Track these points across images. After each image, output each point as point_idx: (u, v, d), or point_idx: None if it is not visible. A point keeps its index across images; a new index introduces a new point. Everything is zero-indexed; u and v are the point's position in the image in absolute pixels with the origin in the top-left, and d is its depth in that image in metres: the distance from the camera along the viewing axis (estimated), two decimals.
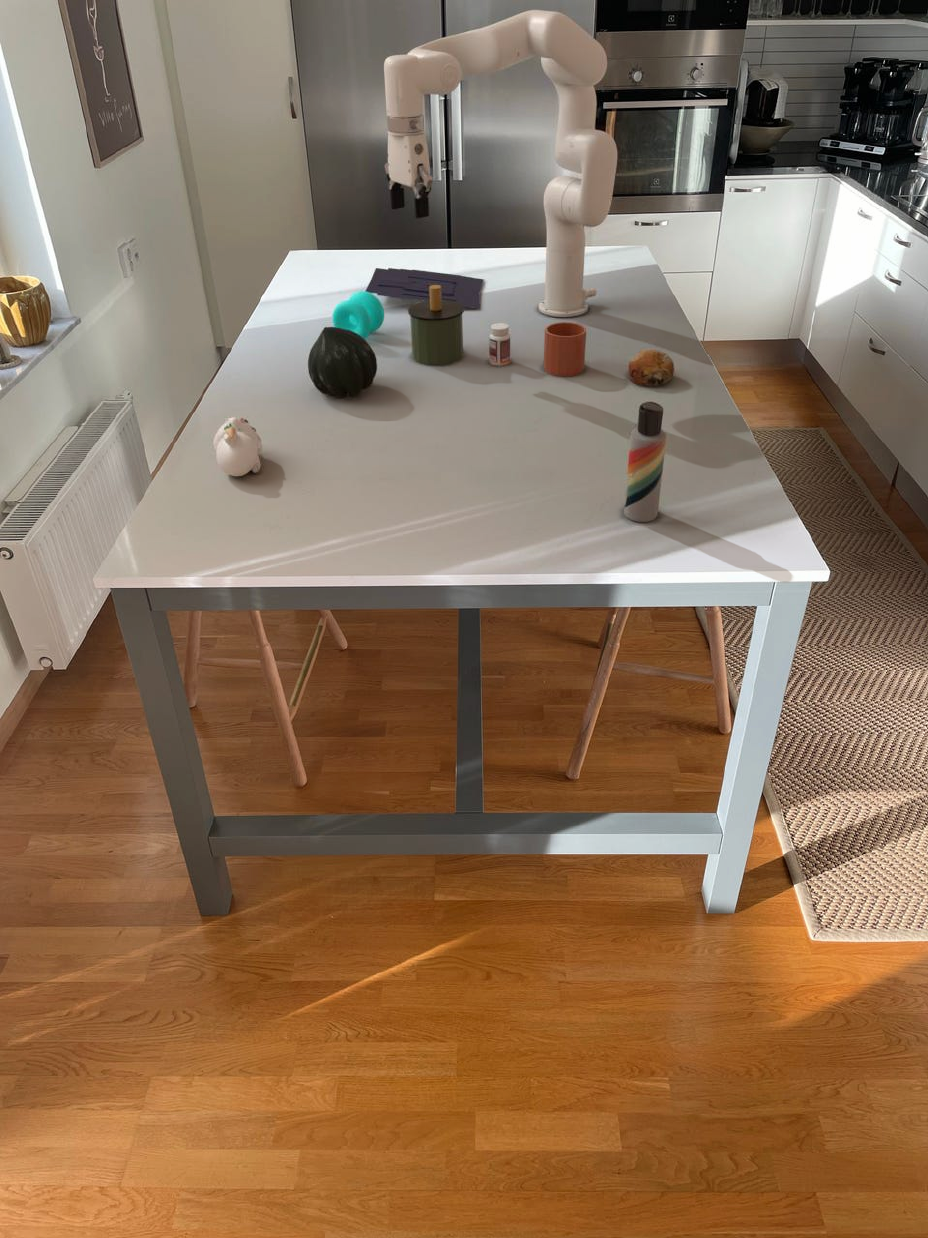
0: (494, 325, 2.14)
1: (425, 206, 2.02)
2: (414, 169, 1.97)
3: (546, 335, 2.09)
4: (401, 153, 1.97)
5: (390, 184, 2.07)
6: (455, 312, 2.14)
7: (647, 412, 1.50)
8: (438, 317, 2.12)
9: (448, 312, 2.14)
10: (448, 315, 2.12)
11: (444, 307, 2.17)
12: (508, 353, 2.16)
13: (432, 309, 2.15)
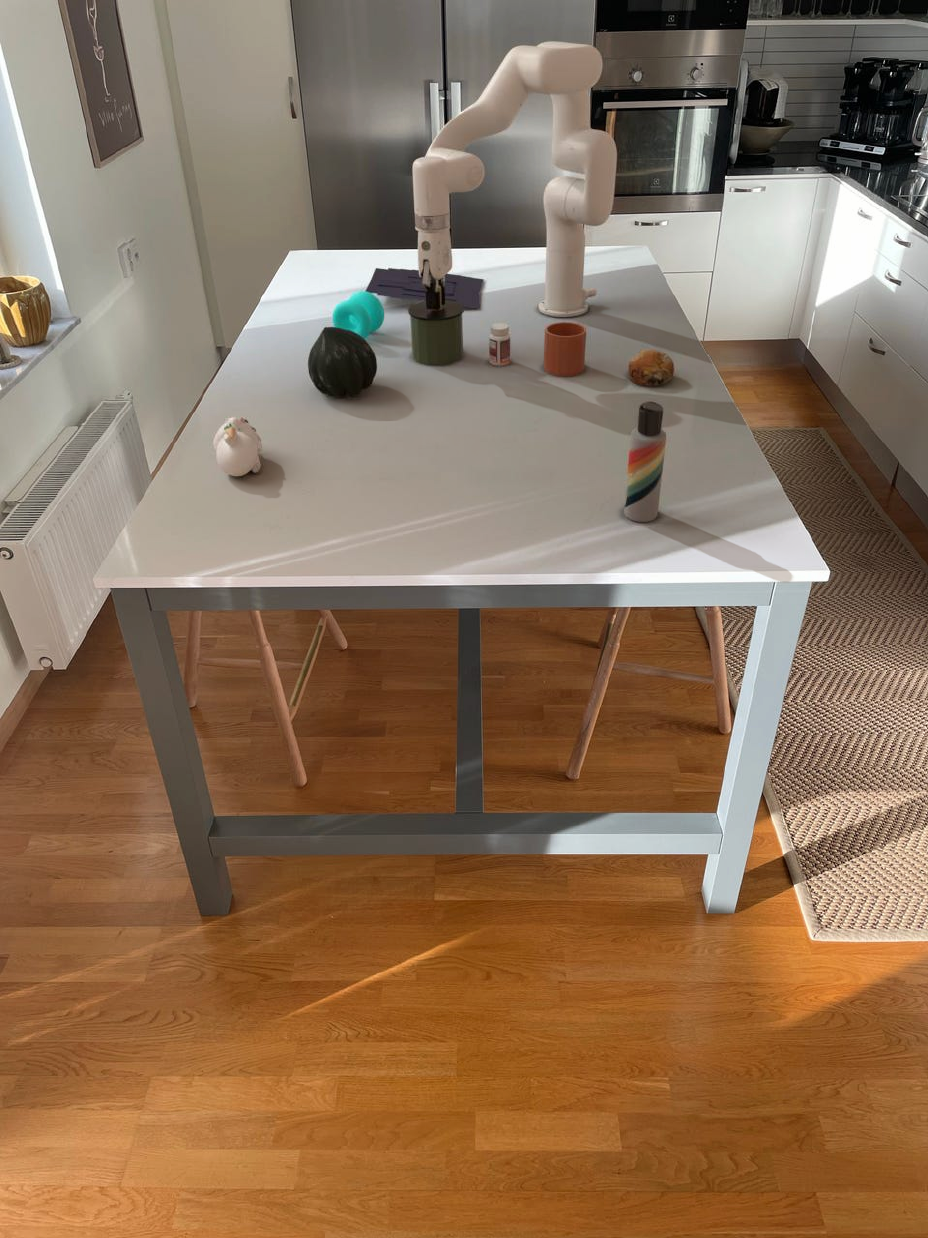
0: (494, 325, 2.14)
1: (433, 300, 2.12)
2: (420, 263, 2.06)
3: (546, 335, 2.09)
4: None
5: None
6: (455, 312, 2.14)
7: (647, 412, 1.50)
8: (438, 317, 2.12)
9: (448, 312, 2.14)
10: (448, 315, 2.12)
11: (444, 307, 2.17)
12: (508, 353, 2.16)
13: None
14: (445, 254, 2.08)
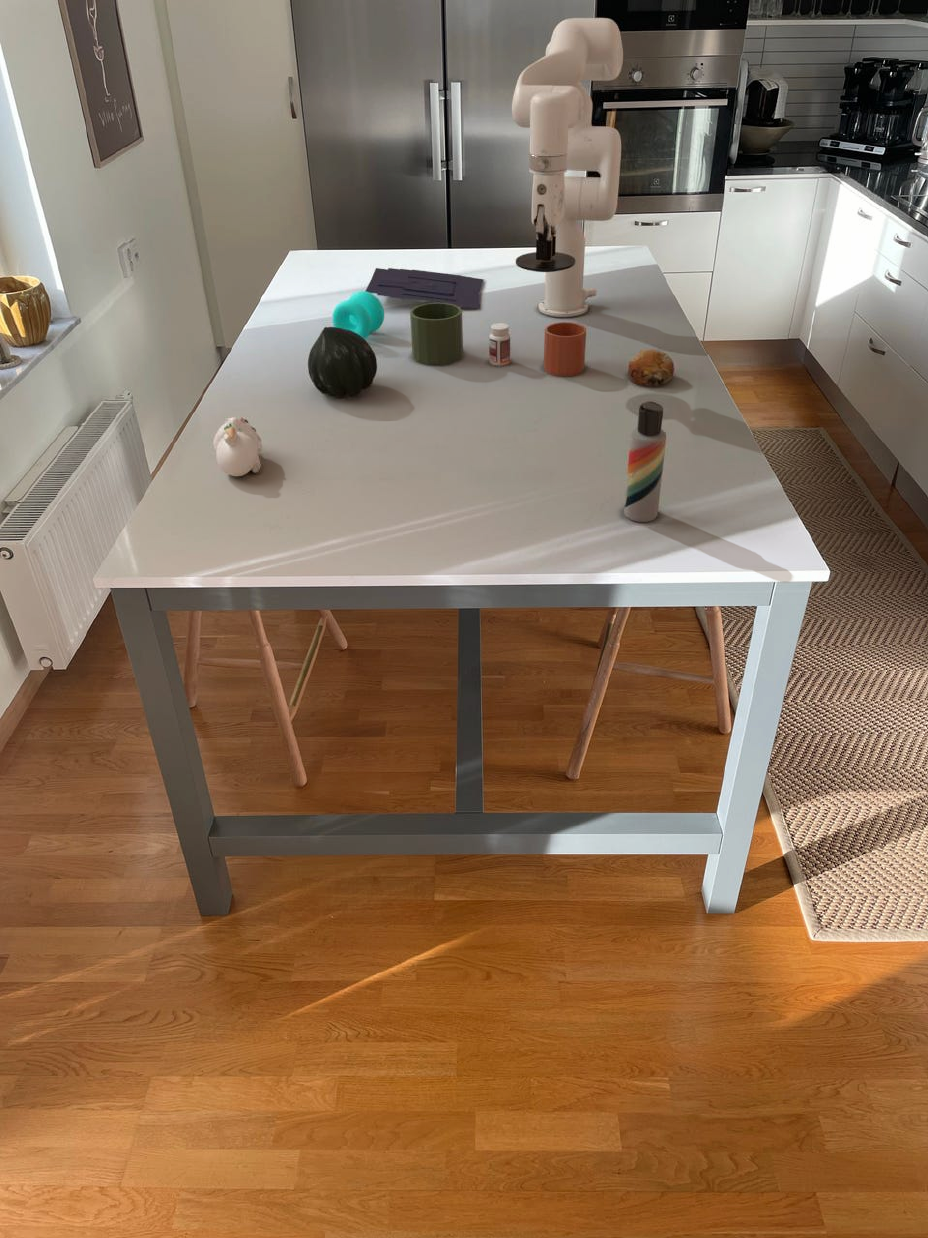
0: (494, 325, 2.14)
1: (544, 250, 1.98)
2: (534, 208, 1.92)
3: (546, 335, 2.09)
4: None
5: None
6: (567, 263, 2.00)
7: (647, 412, 1.50)
8: (550, 268, 1.98)
9: (559, 263, 2.00)
10: (560, 266, 1.99)
11: (554, 258, 2.03)
12: (508, 353, 2.16)
13: (542, 260, 2.01)
14: (560, 199, 1.94)
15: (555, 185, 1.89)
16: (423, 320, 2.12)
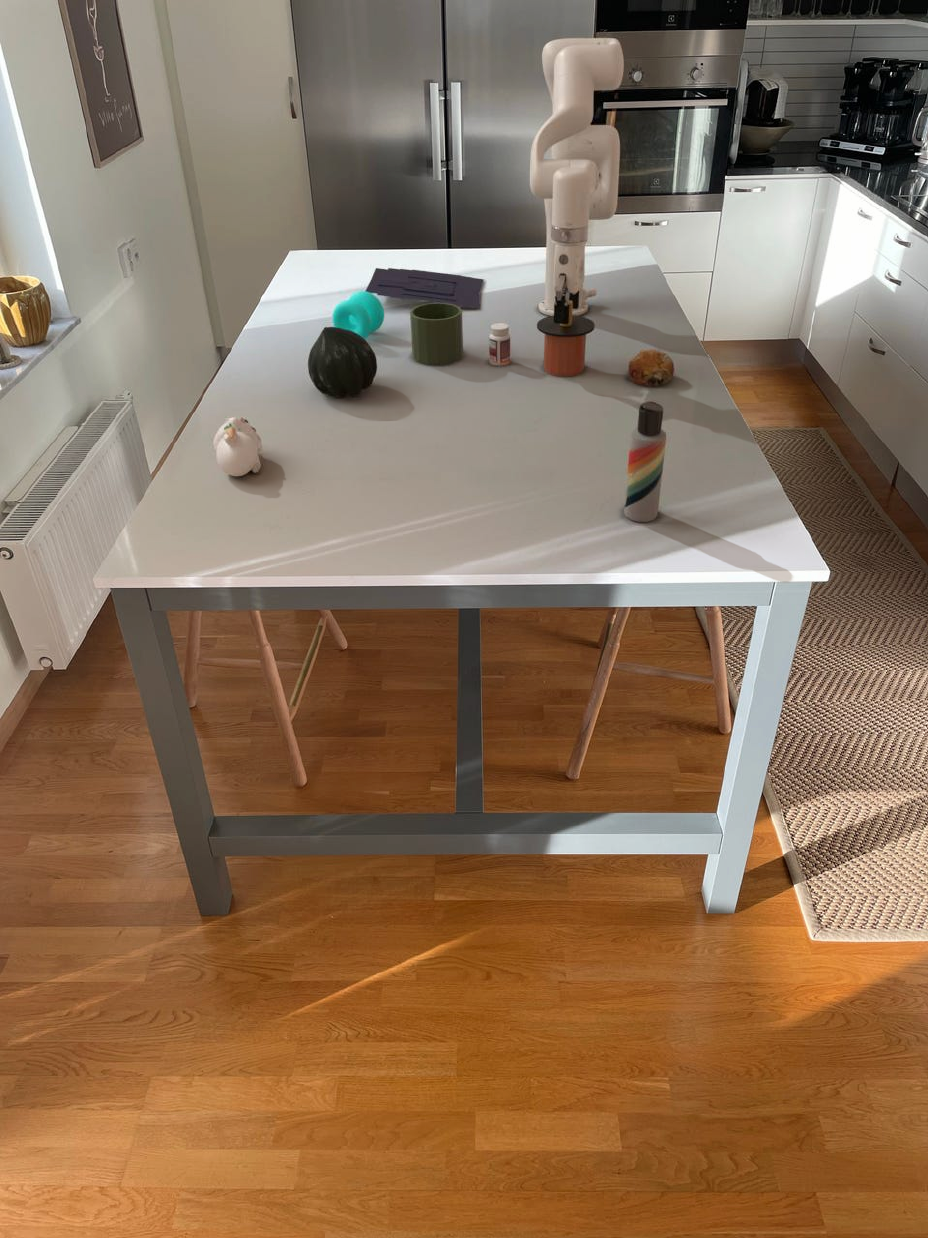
0: (494, 325, 2.14)
1: (562, 314, 2.02)
2: (556, 277, 1.99)
3: (546, 335, 2.09)
4: None
5: None
6: (587, 328, 2.07)
7: (647, 412, 1.50)
8: (571, 333, 2.04)
9: (580, 328, 2.07)
10: (581, 331, 2.05)
11: (574, 322, 2.09)
12: (508, 353, 2.16)
13: (562, 325, 2.08)
14: (581, 268, 2.01)
15: (577, 255, 1.96)
16: (423, 320, 2.12)
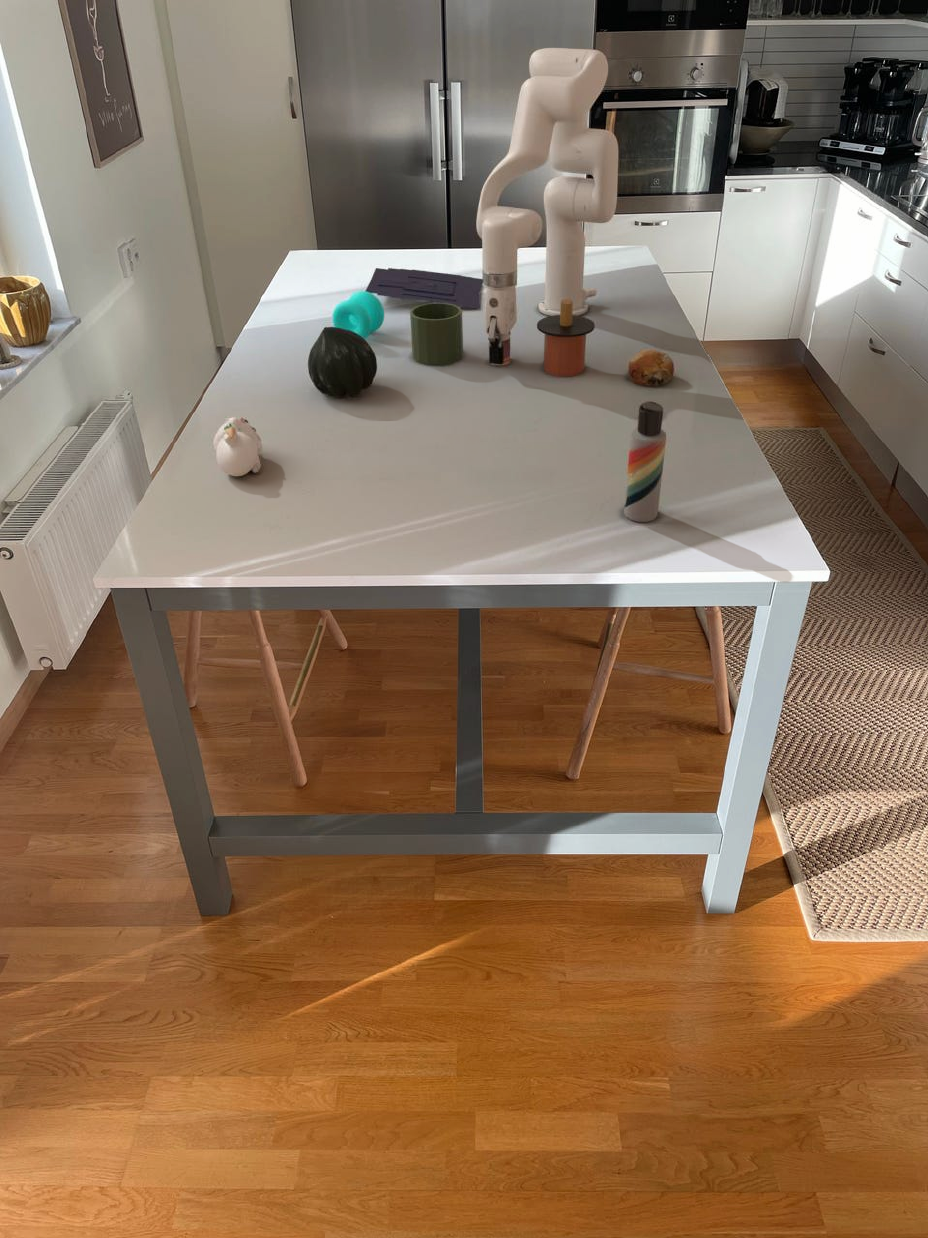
0: None
1: (496, 355, 2.14)
2: (487, 319, 2.08)
3: (546, 335, 2.09)
4: None
5: None
6: (587, 328, 2.07)
7: (647, 412, 1.50)
8: (571, 333, 2.04)
9: (580, 328, 2.07)
10: (581, 331, 2.05)
11: (574, 322, 2.09)
12: (508, 353, 2.16)
13: (562, 325, 2.08)
14: (511, 310, 2.10)
15: (506, 299, 2.06)
16: (423, 320, 2.12)
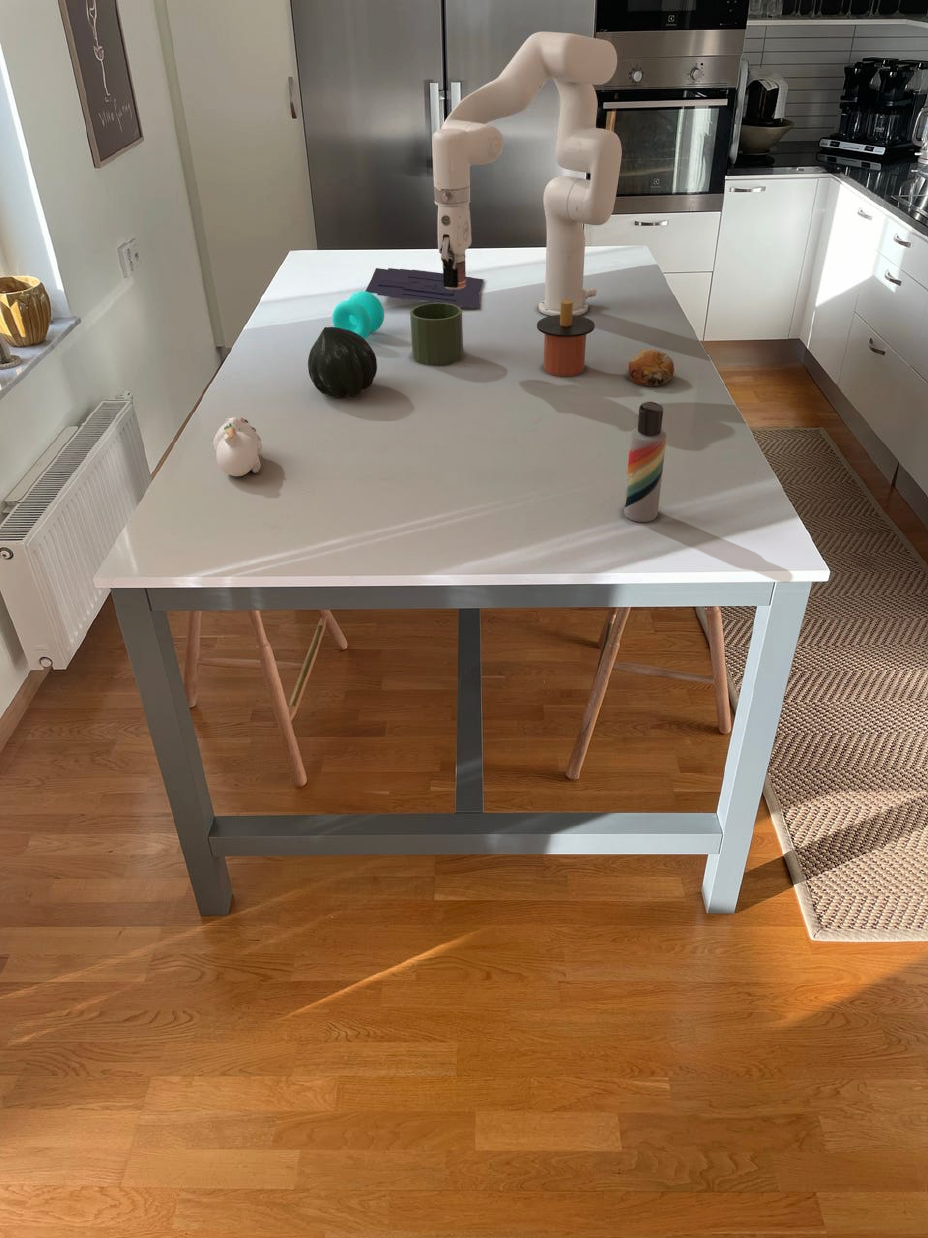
0: None
1: (450, 277, 2.07)
2: (440, 238, 2.01)
3: (546, 335, 2.09)
4: None
5: None
6: (587, 328, 2.07)
7: (647, 412, 1.50)
8: (571, 333, 2.04)
9: (580, 328, 2.07)
10: (581, 331, 2.05)
11: (574, 322, 2.09)
12: (463, 276, 2.09)
13: (562, 325, 2.08)
14: (465, 229, 2.03)
15: (458, 216, 1.99)
16: (423, 320, 2.12)
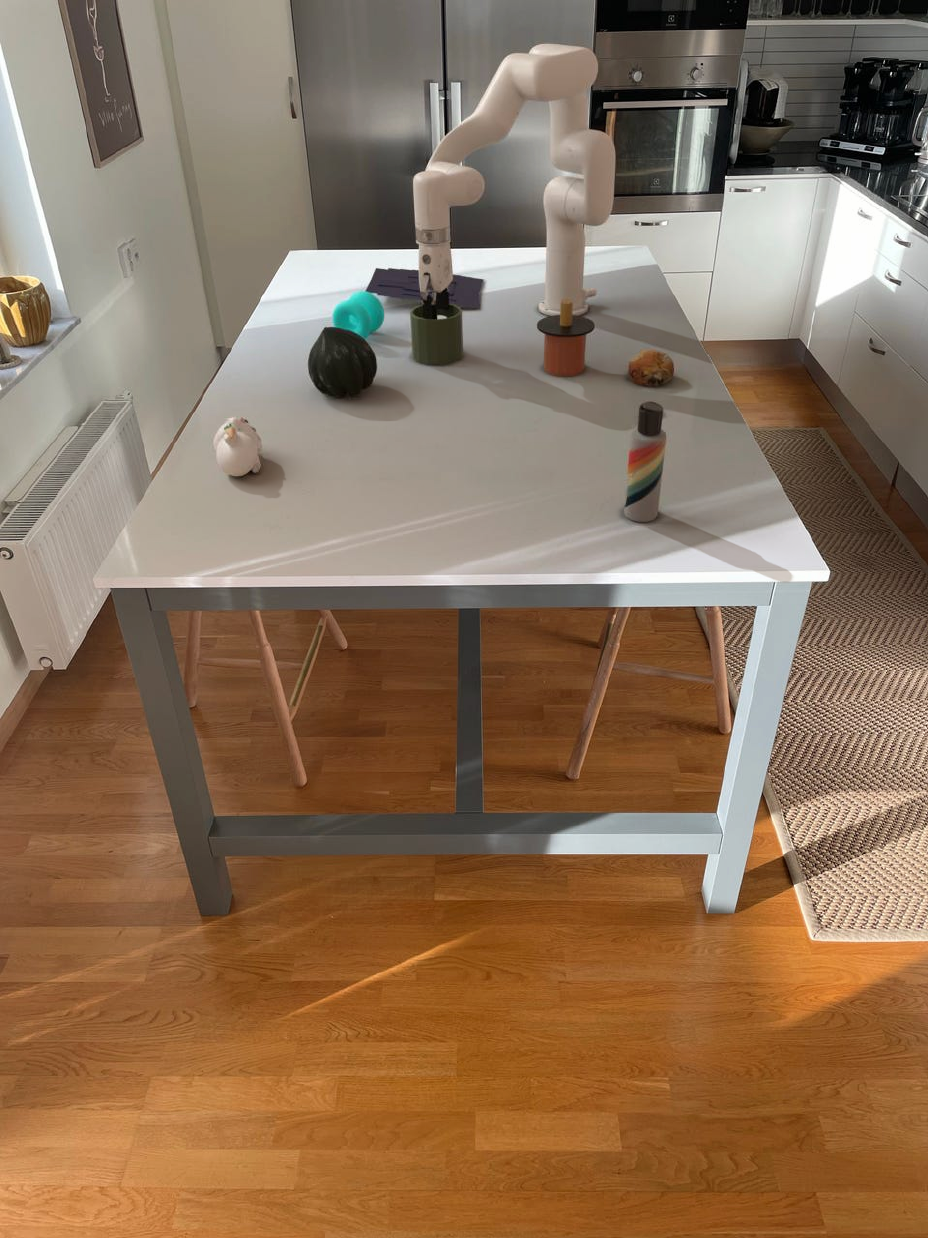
0: None
1: (429, 313, 2.12)
2: (421, 276, 2.07)
3: (546, 335, 2.09)
4: None
5: None
6: (587, 328, 2.07)
7: (647, 412, 1.50)
8: (571, 333, 2.04)
9: (580, 328, 2.07)
10: (581, 331, 2.05)
11: (574, 322, 2.09)
12: None
13: (562, 325, 2.08)
14: (446, 267, 2.09)
15: (439, 255, 2.05)
16: (423, 320, 2.12)
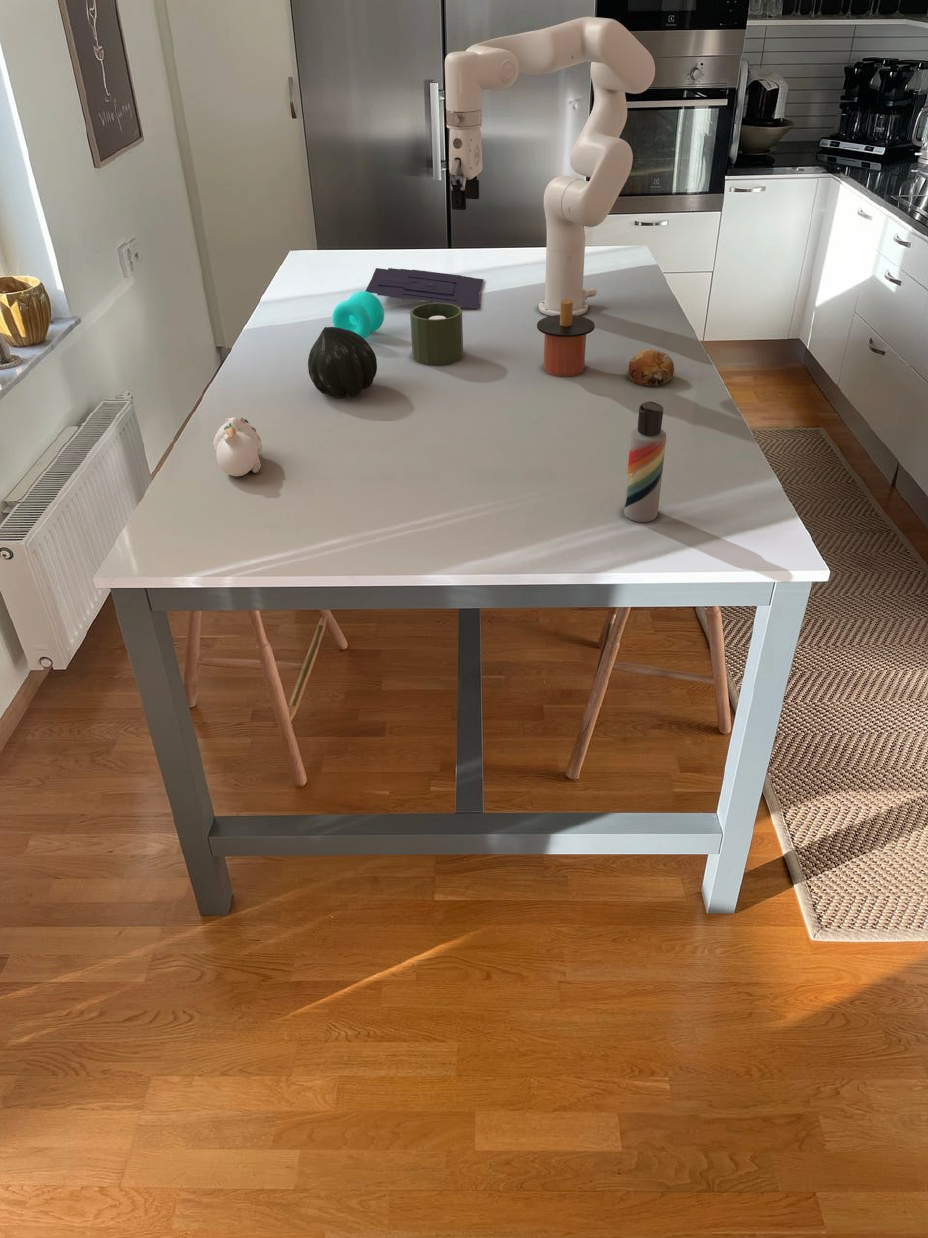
0: (432, 317, 2.18)
1: (458, 199, 2.08)
2: (451, 161, 2.05)
3: (546, 335, 2.09)
4: None
5: None
6: (587, 328, 2.07)
7: (647, 412, 1.50)
8: (571, 333, 2.04)
9: (580, 328, 2.07)
10: (581, 331, 2.05)
11: (574, 322, 2.09)
12: None
13: (562, 325, 2.08)
14: (476, 153, 2.07)
15: (470, 139, 2.03)
16: (423, 320, 2.12)
